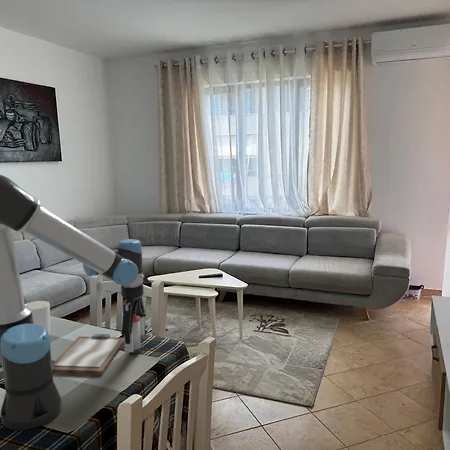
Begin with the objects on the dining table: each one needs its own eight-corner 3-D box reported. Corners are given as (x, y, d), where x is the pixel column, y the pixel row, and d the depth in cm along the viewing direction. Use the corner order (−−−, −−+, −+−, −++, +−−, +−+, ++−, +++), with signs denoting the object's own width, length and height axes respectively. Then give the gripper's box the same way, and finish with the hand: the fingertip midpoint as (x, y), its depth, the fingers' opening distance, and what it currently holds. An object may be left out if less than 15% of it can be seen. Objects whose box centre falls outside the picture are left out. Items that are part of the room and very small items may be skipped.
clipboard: (47, 373, 134) (46, 365, 134) (79, 340, 158) (78, 333, 157) (102, 375, 133) (101, 367, 132) (125, 341, 156) (125, 334, 156)
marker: (127, 354, 146) (125, 319, 144) (131, 349, 150) (129, 314, 148) (139, 355, 146) (137, 320, 143) (142, 349, 150) (141, 315, 147)
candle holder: (56, 329, 167) (54, 301, 165) (44, 340, 158) (41, 310, 155) (33, 328, 168) (30, 300, 166) (19, 339, 159) (16, 309, 156)
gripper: (132, 296, 131) (135, 360, 135) (151, 274, 155) (153, 328, 159) (108, 296, 132) (112, 359, 135) (132, 273, 156) (134, 327, 160)
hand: (134, 342), depth 147 cm, fingers open, 12 cm apart
